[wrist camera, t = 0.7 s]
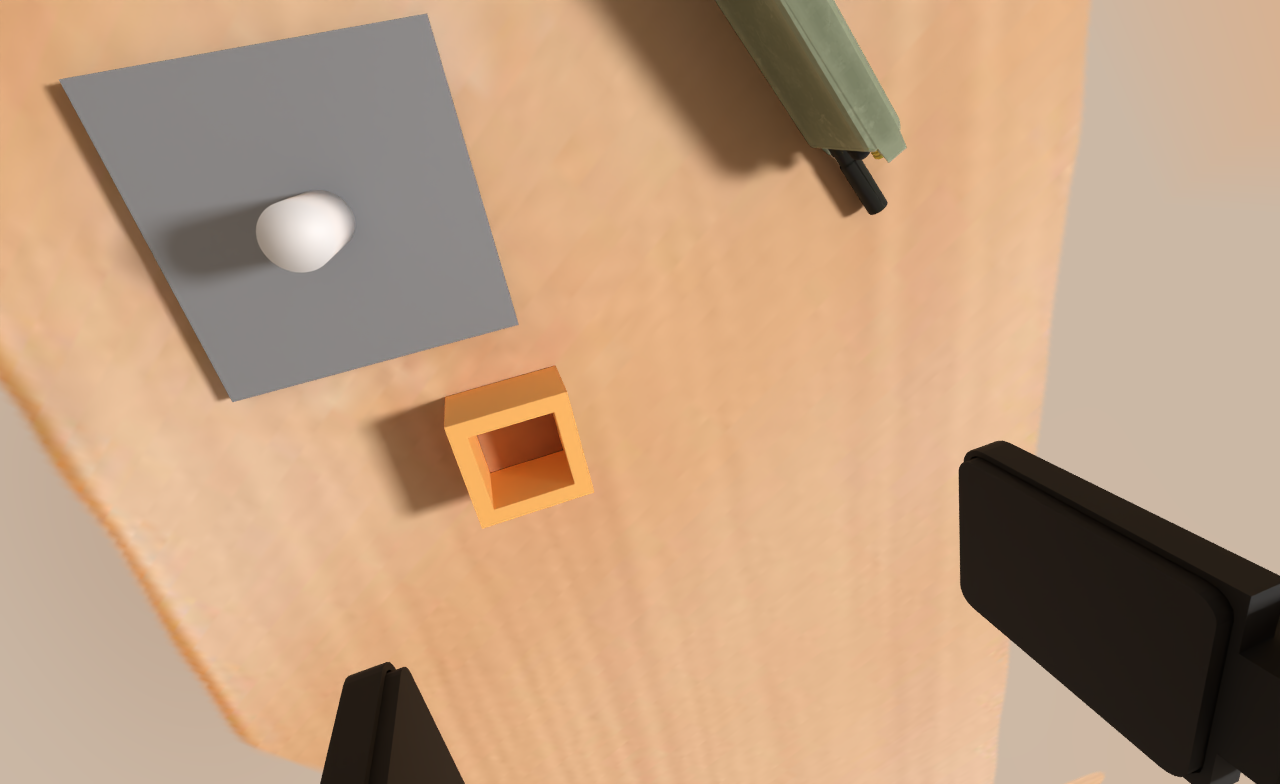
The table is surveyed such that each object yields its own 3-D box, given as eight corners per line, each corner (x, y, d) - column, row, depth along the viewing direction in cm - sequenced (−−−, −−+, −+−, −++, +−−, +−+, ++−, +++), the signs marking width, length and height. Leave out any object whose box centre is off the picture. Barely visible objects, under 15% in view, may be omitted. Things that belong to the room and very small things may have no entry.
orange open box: (445, 397, 38) (443, 427, 34) (555, 365, 39) (566, 391, 35) (479, 490, 40) (482, 528, 36) (581, 458, 42) (594, 492, 38)
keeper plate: (71, 81, 28) (-42, 64, 21) (427, 17, 30) (420, -15, 24) (238, 395, 34) (189, 452, 28) (517, 320, 37) (529, 356, 31)
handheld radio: (646, -212, 29) (887, 188, 41) (597, -159, 30) (849, 223, 41) (689, -296, 23) (957, 199, 35) (627, -229, 24) (912, 240, 35)
